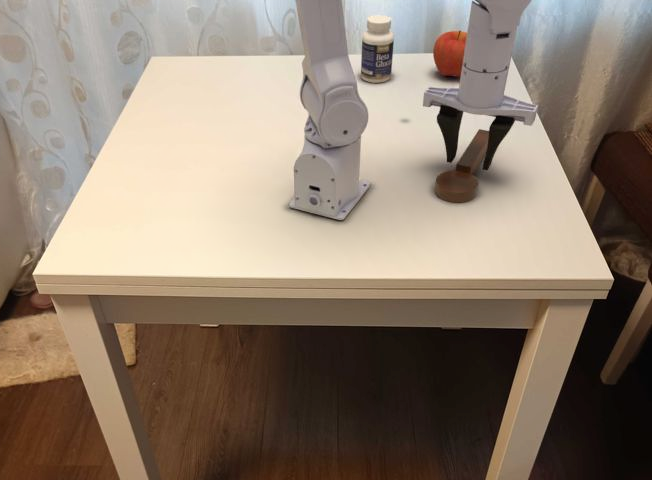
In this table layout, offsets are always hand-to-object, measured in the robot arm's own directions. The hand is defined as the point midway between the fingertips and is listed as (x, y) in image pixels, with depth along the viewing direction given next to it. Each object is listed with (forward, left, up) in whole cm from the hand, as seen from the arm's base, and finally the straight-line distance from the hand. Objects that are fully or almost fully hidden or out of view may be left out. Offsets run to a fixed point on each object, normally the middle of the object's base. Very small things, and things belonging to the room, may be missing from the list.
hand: (468, 163), depth 89 cm
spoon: (0, 0, -1) cm, 1 cm away
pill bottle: (+25, +24, -2) cm, 35 cm away
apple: (+31, +12, -2) cm, 33 cm away
